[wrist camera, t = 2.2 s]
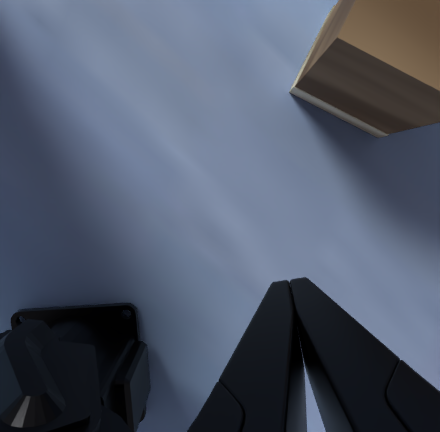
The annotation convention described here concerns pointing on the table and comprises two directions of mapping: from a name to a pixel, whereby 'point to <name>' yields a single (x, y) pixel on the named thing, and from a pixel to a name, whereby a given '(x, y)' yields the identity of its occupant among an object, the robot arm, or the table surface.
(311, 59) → the brown rectangular block
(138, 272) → the table surface
